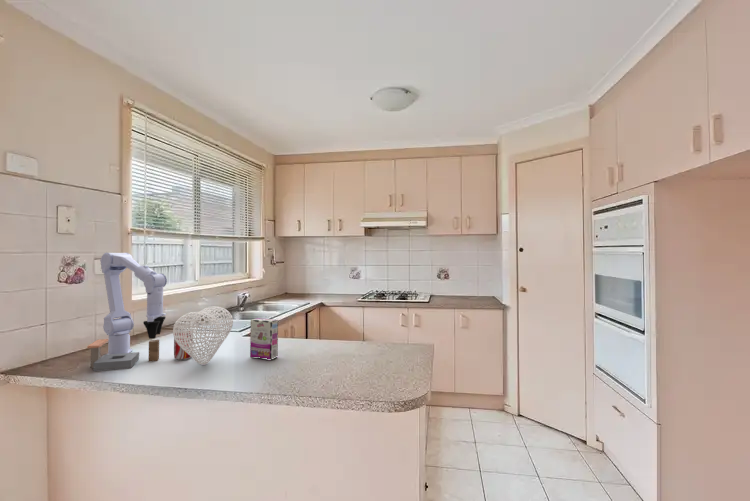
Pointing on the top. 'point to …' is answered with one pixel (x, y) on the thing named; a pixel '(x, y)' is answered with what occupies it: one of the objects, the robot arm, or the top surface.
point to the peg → (153, 350)
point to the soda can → (178, 351)
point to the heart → (217, 332)
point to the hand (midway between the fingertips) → (154, 336)
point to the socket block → (110, 358)
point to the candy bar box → (264, 338)
